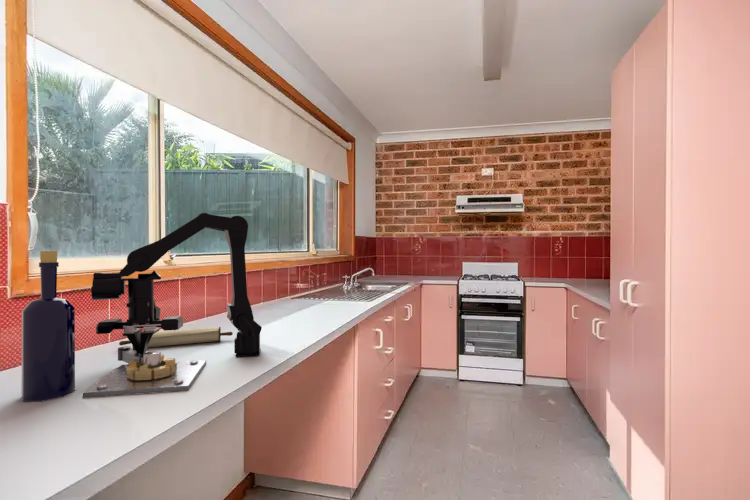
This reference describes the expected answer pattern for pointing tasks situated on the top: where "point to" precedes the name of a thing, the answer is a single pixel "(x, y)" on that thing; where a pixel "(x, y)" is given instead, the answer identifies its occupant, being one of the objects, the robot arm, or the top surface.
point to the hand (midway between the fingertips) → (141, 357)
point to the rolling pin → (184, 337)
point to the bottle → (48, 340)
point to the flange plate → (122, 385)
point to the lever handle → (144, 365)
